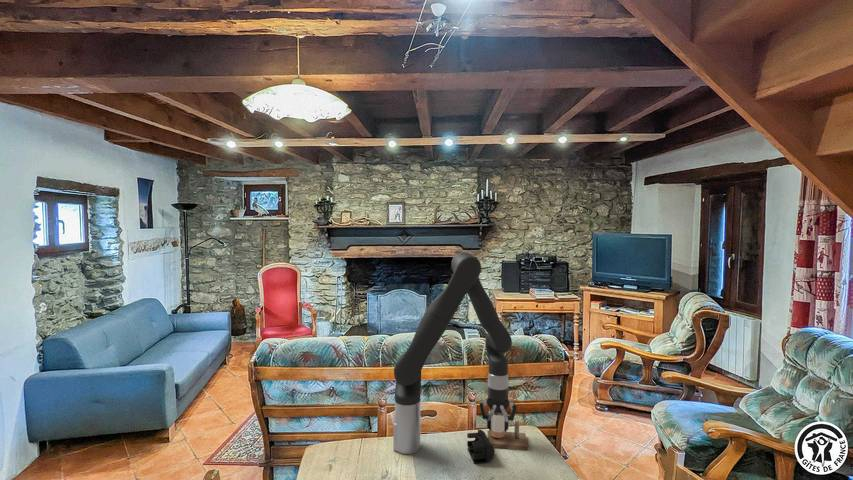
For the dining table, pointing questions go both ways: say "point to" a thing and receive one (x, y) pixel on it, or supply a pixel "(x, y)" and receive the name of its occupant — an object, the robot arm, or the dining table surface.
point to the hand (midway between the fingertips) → (497, 429)
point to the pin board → (510, 440)
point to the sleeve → (498, 425)
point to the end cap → (480, 448)
